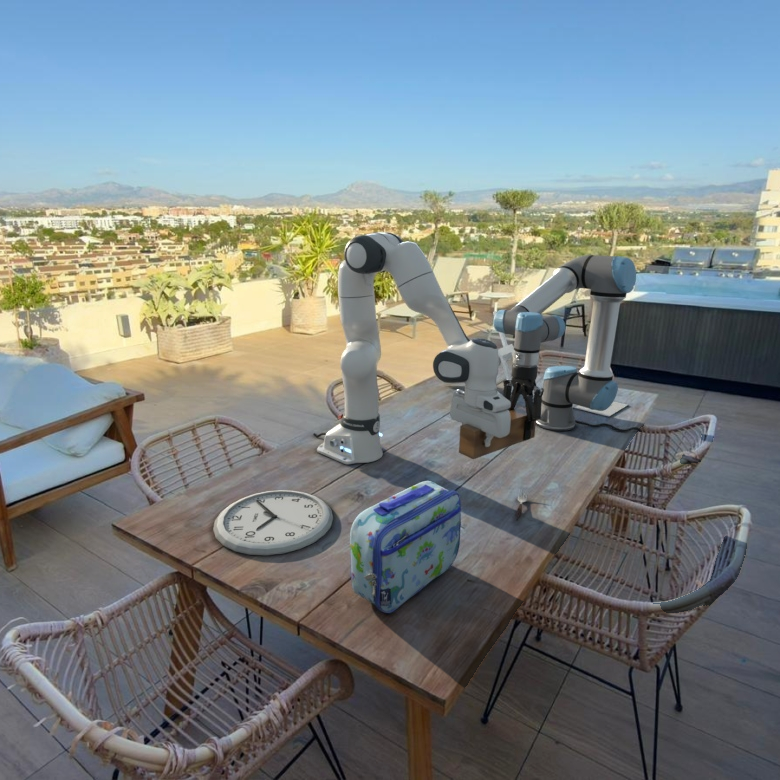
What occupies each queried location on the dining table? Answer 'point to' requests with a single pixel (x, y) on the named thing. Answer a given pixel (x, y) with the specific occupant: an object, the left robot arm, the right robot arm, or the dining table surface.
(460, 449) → the bar
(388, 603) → the lunch box
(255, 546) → the wall clock
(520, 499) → the fork
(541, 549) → the dining table surface
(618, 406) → the invitation card
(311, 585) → the dining table surface
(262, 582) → the dining table surface
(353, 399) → the left robot arm
